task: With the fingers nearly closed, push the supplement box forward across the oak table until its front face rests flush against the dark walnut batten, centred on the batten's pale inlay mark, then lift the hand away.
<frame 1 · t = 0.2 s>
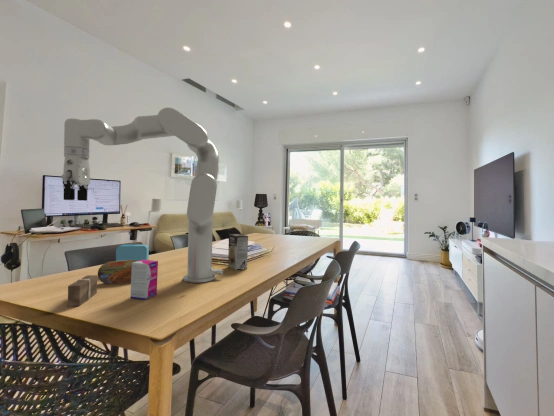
hand: (76, 200, 100), 31 cm above the table, tool pointing down, fingers open, 9 cm apart
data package: (132, 272, 119), on the table
supplement box: (144, 297, 89), on the table
tin: (121, 282, 104), on the table
coffee box: (237, 268, 132), on the table
batten: (83, 299, 85), on the table
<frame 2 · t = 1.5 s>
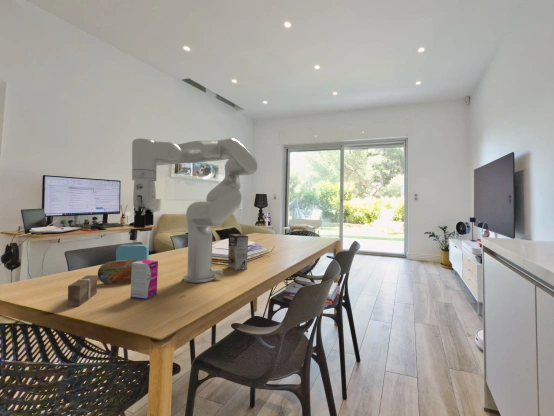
hand: (144, 226, 93), 23 cm above the table, tool pointing down, fingers open, 9 cm apart
nothing on the table moved.
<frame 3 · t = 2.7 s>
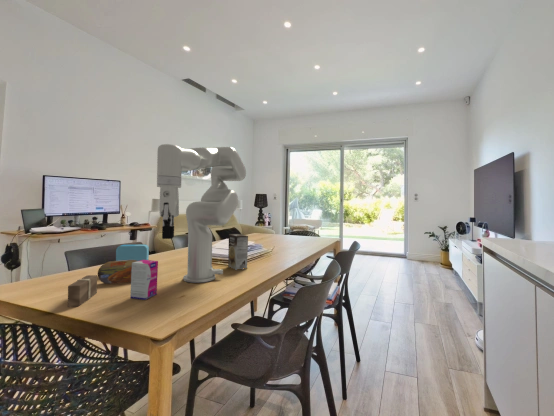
hand: (168, 237, 90), 19 cm above the table, tool pointing down, fingers closed
nothing on the table moved.
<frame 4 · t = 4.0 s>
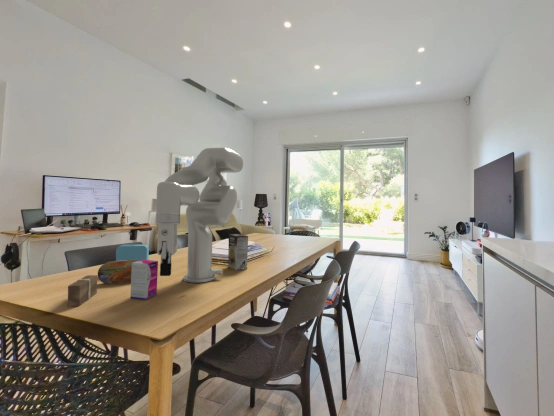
hand: (165, 275, 89), 7 cm above the table, tool pointing down, fingers closed
nothing on the table moved.
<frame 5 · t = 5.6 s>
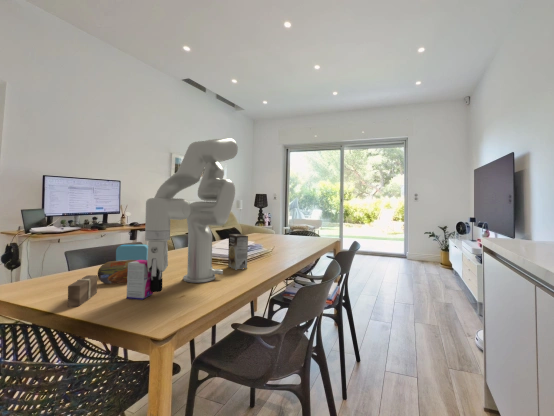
hand: (156, 291, 89), 2 cm above the table, tool pointing down, fingers closed
supplement box: (140, 297, 88), on the table, touching gripper
everything else where it was.
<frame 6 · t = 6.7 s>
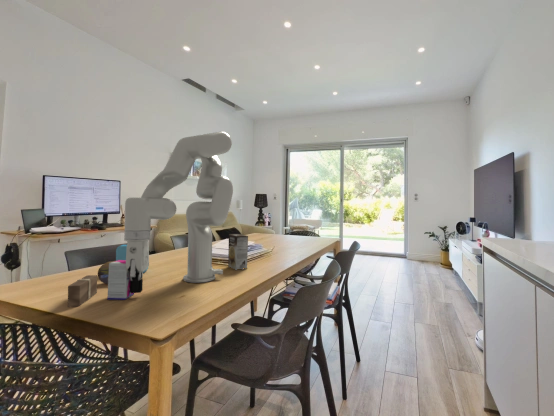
hand: (136, 292, 88), 2 cm above the table, tool pointing down, fingers closed
supplement box: (121, 297, 87), on the table, touching gripper
everything else where it was.
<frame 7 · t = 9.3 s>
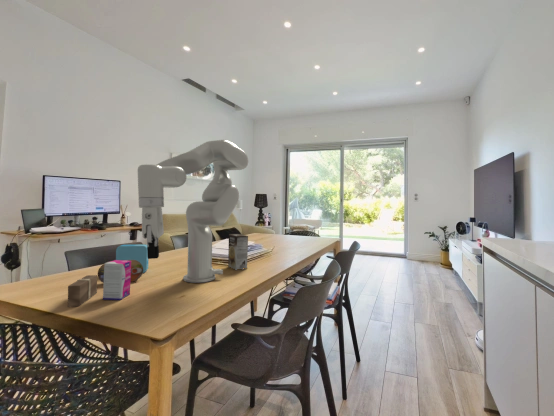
hand: (153, 257, 90), 12 cm above the table, tool pointing down, fingers closed
supplement box: (117, 297, 87), on the table
everything else where it was.
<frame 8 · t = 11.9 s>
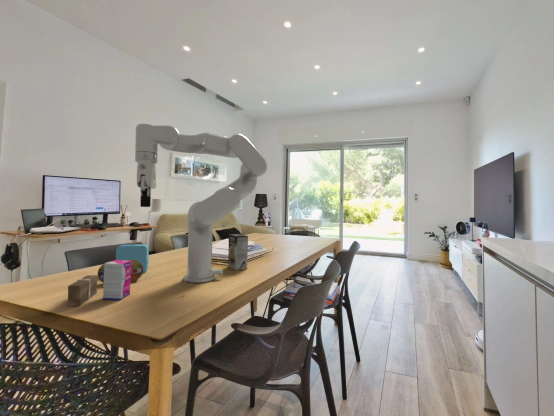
hand: (145, 206, 102), 29 cm above the table, tool pointing down, fingers closed
nothing on the table moved.
at the end: supplement box 1.4 cm from the target spot on the table beside the batten, on the table; supplement box tilted 0° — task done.
